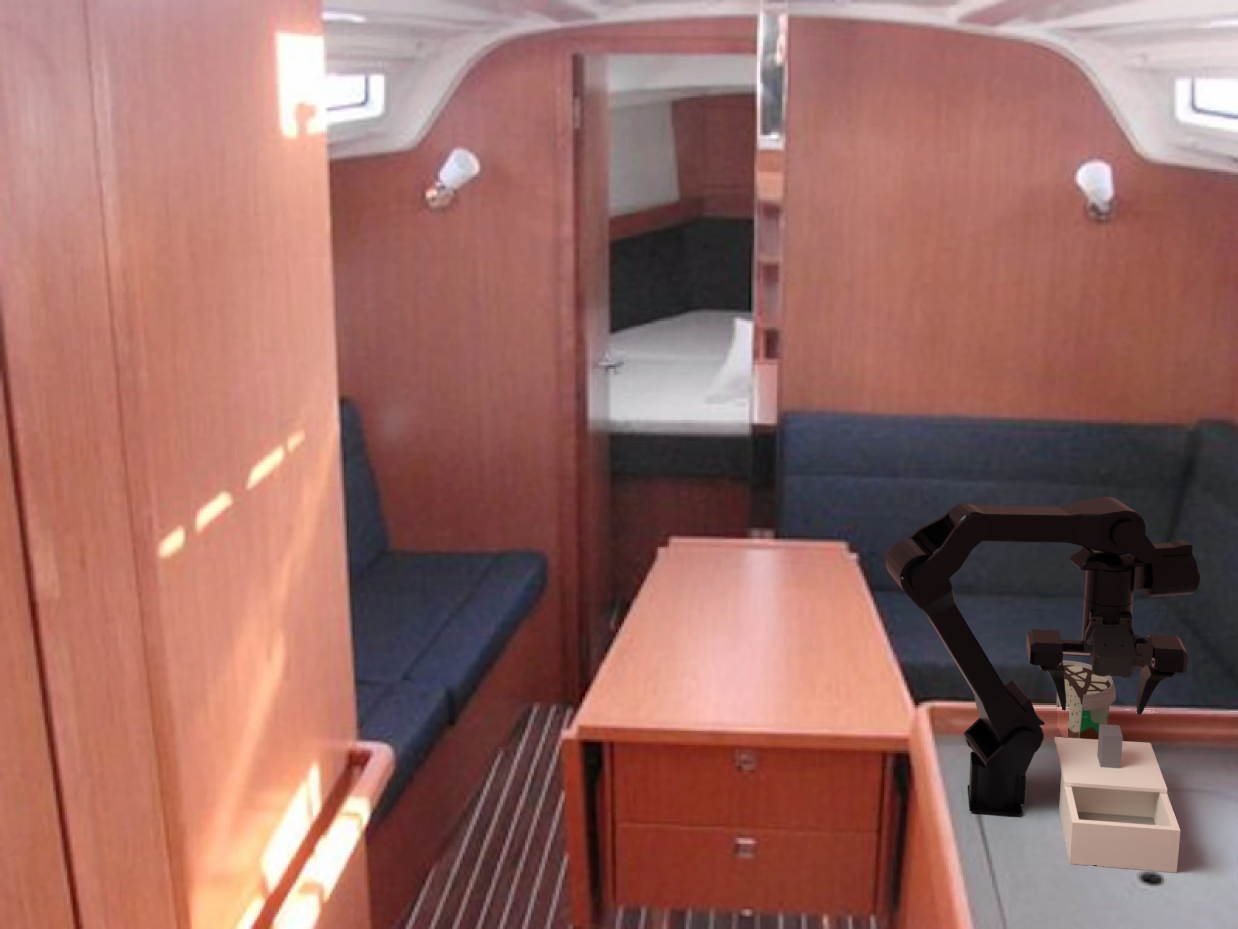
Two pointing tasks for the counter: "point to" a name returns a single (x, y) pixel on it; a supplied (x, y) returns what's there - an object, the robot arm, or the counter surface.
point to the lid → (1109, 762)
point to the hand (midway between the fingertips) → (1100, 711)
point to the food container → (1086, 699)
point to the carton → (1119, 828)
